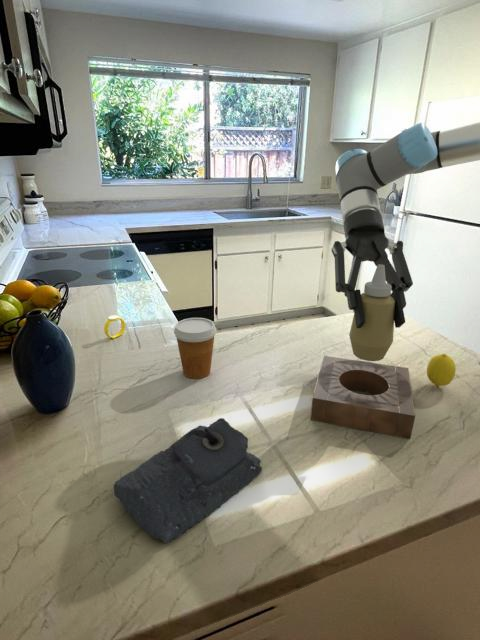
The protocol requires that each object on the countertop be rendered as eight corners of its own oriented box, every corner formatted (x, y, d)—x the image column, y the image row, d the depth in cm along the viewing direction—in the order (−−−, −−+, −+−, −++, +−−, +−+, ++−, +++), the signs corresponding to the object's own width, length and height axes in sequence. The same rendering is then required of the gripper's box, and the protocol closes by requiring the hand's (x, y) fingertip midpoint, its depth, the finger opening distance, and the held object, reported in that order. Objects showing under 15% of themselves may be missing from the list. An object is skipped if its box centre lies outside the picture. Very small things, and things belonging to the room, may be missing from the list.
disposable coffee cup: (177, 384, 89) (174, 335, 84) (175, 364, 97) (172, 318, 93) (220, 380, 91) (219, 332, 86) (214, 360, 99) (213, 315, 95)
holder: (405, 387, 88) (408, 367, 86) (411, 439, 72) (416, 416, 70) (321, 374, 93) (323, 355, 92) (309, 420, 77) (311, 398, 75)
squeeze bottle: (365, 368, 74) (379, 273, 67) (338, 350, 80) (348, 262, 73) (399, 360, 77) (415, 268, 70) (370, 343, 83) (382, 258, 77)
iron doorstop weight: (100, 491, 61) (96, 466, 59) (208, 425, 76) (207, 404, 74) (161, 556, 51) (158, 528, 49) (271, 466, 66) (272, 442, 64)
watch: (121, 331, 115) (119, 312, 112) (128, 334, 113) (125, 314, 111) (104, 338, 110) (101, 318, 108) (110, 341, 109) (107, 321, 106)
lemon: (446, 396, 85) (454, 362, 82) (420, 386, 89) (426, 354, 86) (454, 385, 89) (462, 353, 86) (428, 377, 93) (435, 345, 90)
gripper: (402, 229, 85) (424, 331, 76) (310, 230, 84) (322, 333, 75) (417, 206, 78) (444, 316, 69) (318, 207, 77) (332, 317, 68)
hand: (380, 324), depth 72 cm, fingers closed on squeeze bottle, 6 cm apart
